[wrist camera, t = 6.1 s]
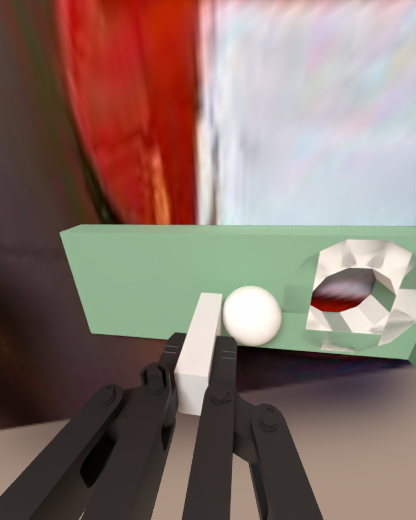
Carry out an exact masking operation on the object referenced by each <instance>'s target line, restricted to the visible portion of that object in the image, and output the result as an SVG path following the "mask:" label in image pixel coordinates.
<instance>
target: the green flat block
mask: <svg viewBox="0 0 416 520" xmlns="http://www.w3.org/2000/svg"><path fill="white" fill-rule="evenodd" d="M60 236H61V239H62V242H63V245H64V248H65V252H66V255H67V258H68V261H69V264H70V267H71V271H72V274H73V277H74V280H75V283H76V286H77V290H78V293H79V296H80V299H81V302H82V305H83V309H84V312H85V315H86V318H87V321H88V324H89V328H90V331H91V333H96V334H108V335H120V336H132V337H144V338H156V339H169V338H170V337H171V336H172V335H173V334H174V333H175V332H179V333H188V330H189V327H190V324H191V321H192V318H193V315H194V313H195V310H196V307H197V304H198V301H199V298H200V295H201V293H217V294H222V309H223V305H224V302H225V300H226V299H227V297H228V296H229V295H230V294H231V293H232V292H233V291H234V290H236V289H238V288H240V287H243V286H258V287H261V288H263V289H265V290H267V291H268V292H270V293H271V294H272V295H273V296H274V297H275V299H276V300H277V302H278V304H279V306H280V309H281V314H282V320H281V325H280V328H279V330H278V332H277V334H276V335H275V336H274V337H273V338H272V339H271V340H270V341H268V342H267V343H265V344H262V345H258V346H252V347H265V348H277V349H289V350H301V351H313V352H325V353H337V354H349V355H361V356H373V357H385V358H397V359H408V360H409V361H410V362H411V364H412V365H413V366H414V367H415V368H416V226H257V225H79V226H76V227H73V228H71V229H68V230H65V231H62V232H60ZM347 268H372V270H373V273H374V275H375V278H376V279H375V283H374V286H373V289H372V292H371V294H370V295H369V296H368V297H367V298H366V299H365V300H364V301H363V302H362V303H361V304H359V305H358V306H357V307H354V308H351V309H348V310H346V311H343V312H340V313H338V312H321V311H320V310H318V309H316V308H314V307H313V306H311V305H310V302H311V297H312V292H313V291H314V290H315V288H316V287H317V286H318V285H319V284H320V283H321V282H322V281H323V280H324V279H325V278H326V277H327V276H329V275H332V274H334V273H337V272H339V271H342V270H344V269H347ZM221 336H228V337H231V336H230V334H229V333H228V332H227V330H226V328H225V326H224V324H223V319H222V330H221ZM235 341H236V340H235ZM236 343H237V345H240V346H249V345H244V344H242V343H240V342H238V341H236Z"/></svg>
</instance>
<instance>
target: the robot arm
mask: <svg viewBox="0 0 416 520" xmlns="http://www.w3.org/2000/svg"><path fill="white" fill-rule="evenodd" d="M221 330H222V294H217V293H201V295H200V298H199V301H198V304H197V307H196V310H195V313H194V315H193V318H192V321H191V324H190V327H189V330H188V333H179V332H175V333H174V334H173V335H172V336H171V337H170V338H169V339H168V342H167V344H166V347H165V348H164V351H163V353H162V355H161V358H160V360H159V362H158V363H152V364H149V365H147V366H146V367H145V368H143V370H142V371H141V372H140V377H141V382H142V386H139V387H136V388H131V389H126V390H122V387H121V386H119V385H117V384H109V385H106V386H104V387H102V388H101V389H99V390H98V391H97V392H96V393H95V394H94V395H93V396H92V397H91V398H90V399H89V400H88V402H87V403H86V404H85V405H84V406H83V407H82V408H81V409H80V410H79V411H78V412H77V414H76V415H75V416H74V417H73V418H72V419H71V420H70V421H69V422H68V423H67V424H66V426H65V427H64V428H63V429H62V430H61V431H60V432H59V433H58V434H57V435H56V436H55V437H54V439H53V440H52V441H51V442H50V443H49V444H48V445H47V446H46V447H45V448H44V449H43V451H42V452H41V453H40V454H39V455H38V456H37V457H36V458H35V459H34V460H33V461H32V462H31V464H30V465H29V466H28V467H27V468H26V469H25V470H24V471H23V472H22V474H21V475H20V476H19V477H18V478H17V479H16V480H15V481H14V482H13V483H12V484H11V485H10V487H8V489H7V490H6V491H5V492H4V493H3V494H2V495H1V496H0V520H79V518H80V517H81V515H82V513H83V512H84V514H83V516H82V518H81V520H151V517H152V513H153V509H154V505H155V501H156V498H157V494H158V490H159V486H160V482H161V479H162V475H163V471H164V467H165V464H166V460H167V456H168V452H169V448H170V444H171V441H172V437H173V433H174V429H175V424H176V418H175V415H176V412H177V408H178V409H179V412H180V413H187V414H193V415H199V416H200V421H199V426H198V432H197V437H196V443H195V449H194V455H193V460H192V465H191V471H190V477H189V482H188V488H187V493H186V499H185V505H184V511H183V515H182V520H230V503H231V501H230V500H231V480H232V457H233V453H234V454H236V455H237V456H239V457H241V458H242V459H244V460H245V461H247V462H249V468H250V472H251V478H252V482H253V487H254V492H255V497H256V502H257V507H258V511H259V517H260V520H323V517H322V515H321V512H320V509H319V507H318V504H317V502H316V499H315V496H314V494H313V491H312V489H311V486H310V483H309V481H308V478H307V476H306V473H305V470H304V468H303V465H302V463H301V460H300V458H299V455H298V452H297V450H296V447H295V444H294V442H293V439H292V436H291V434H290V431H289V429H288V426H287V423H286V421H285V419H284V417H283V415H282V414H281V412H280V411H279V410H278V409H277V408H276V407H274V406H272V405H269V404H261V405H257V406H254V405H252V404H250V403H248V402H246V401H245V400H243V399H242V398H241V397H240V396H239V394H238V393H237V390H236V385H235V383H236V359H237V343H236V341H235V339H234V337H228V336H221ZM84 510H85V511H84Z"/></svg>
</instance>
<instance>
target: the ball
mask: <svg viewBox="0 0 416 520" xmlns="http://www.w3.org/2000/svg"><path fill="white" fill-rule="evenodd" d="M222 319H223V324H224V326H225V328H226V330H227V332H228V333H229V334H230V336H231V337H234V339H235V340H236V341H238V342H240V343H242V344H244V345H249V346H258V345H262V344H265V343H267V342H268V341H270V340H271V339H272V338H273V337H274V336H275V335H276V334H277V332H278V330H279V328H280V325H281V320H282V314H281V309H280V306H279V304H278V302H277V300H276V299H275V297H274V296H273V295H272V294H271V293H270V292H268V291H267V290H265V289H263V288H261V287H258V286H243V287H240V288H238V289H236V290H234V291H233V292H232V293H231V294H230V295H229V296H228V297H227V299H226V300H225V302H224V305H223V309H222Z"/></svg>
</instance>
